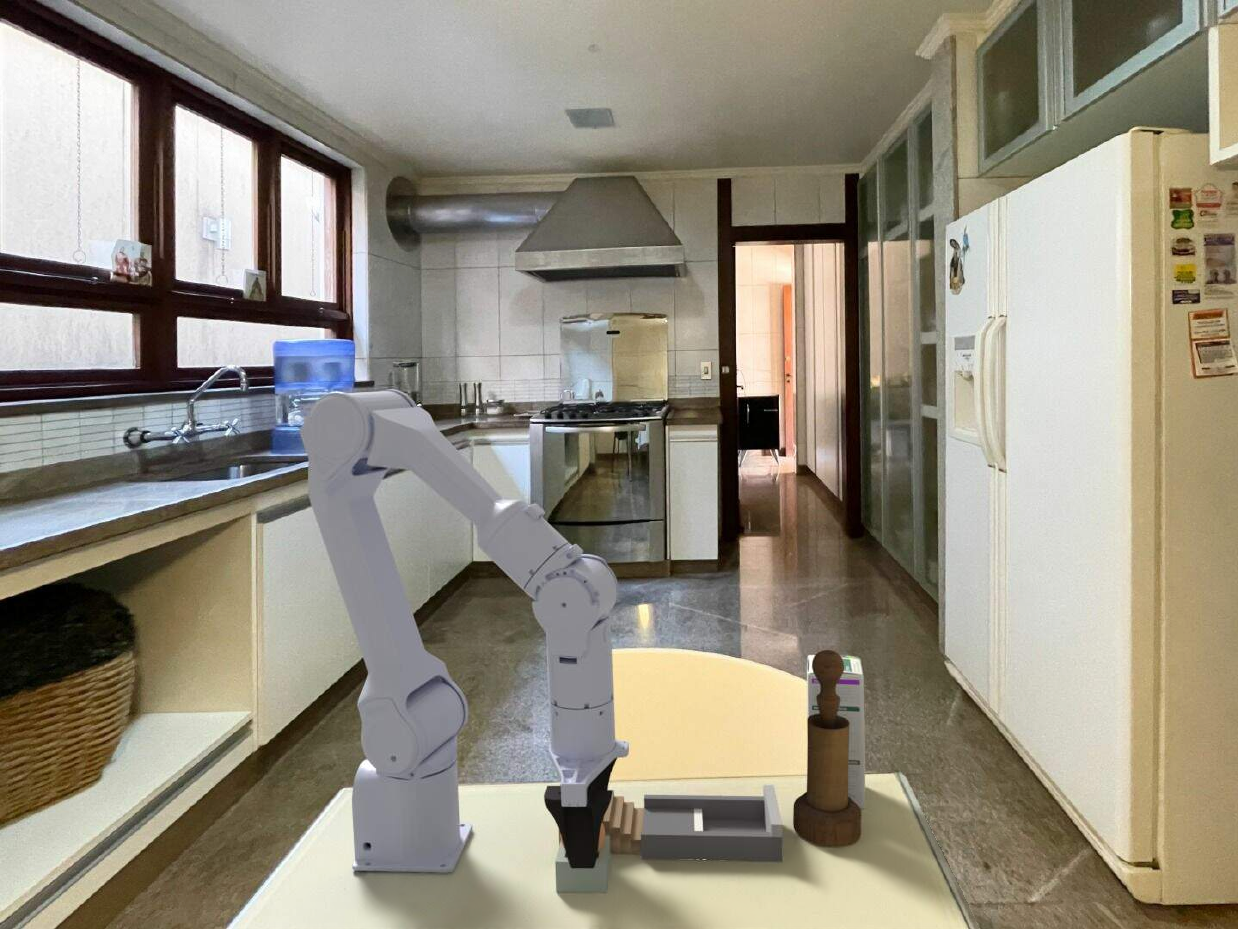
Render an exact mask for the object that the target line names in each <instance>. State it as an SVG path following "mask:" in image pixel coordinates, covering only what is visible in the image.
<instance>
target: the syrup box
mask: <svg viewBox="0 0 1238 929" xmlns="http://www.w3.org/2000/svg"><path fill="white" fill-rule="evenodd" d="M815 655H816V654H815ZM815 655H814V654H808V656H807V664H806V696H807V698H806V700H807V701H806V702H807V709H806V710H807V713H806V714H807V716H806V717H807V719H808V717H809V716H811V715H814V714H820V713H819V709H818V705H817V700H816V696H817V695H818V694H820V690H821V687H820V683H819V682H818V680H817V678H816V676H815V674H814V672H813V669H812V661H813V658H814V656H815ZM839 655H840V656H841V658H842V660H843V663H844V671H843V674H842V676H841V678H840V679H839V681H838V683H837V685H836V689H835V690H836V694H837V695H838V696H839V697H840V705H839V709H838V712H837V715H838V716H842V717H844V718H846V719H847V720H848V721H849V760H848V796H849V797H850V798H851V799H852V800H853V801H854V802H855V803H856V804H857V805H858V806H859V807H860V810H865V805H866V801H865V800H866V748H865V747H866V746H865V744H866V740H865V738H866V736H865V733H866V732H865V730H866V728H865V727H866V726H865V724H866V723H865V695H864V694H865V692H864V691H865V690H864V687H865V686H864V682H865V680H864V678H865V676H864V672H863V666H862V660H861V658H860V657H859V656H855V655H854V656H853V655H846V654H839Z"/></svg>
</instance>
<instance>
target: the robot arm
mask: <svg viewBox="0 0 1238 929" xmlns="http://www.w3.org/2000/svg"><path fill="white" fill-rule="evenodd" d="M299 435H300V437H301V440H302V443H303V446H304V449H305V452H306V455H307V459H308V465H307V467H308V470H307V476H308V477H307V478H308V479H307V493H308V498H309V502H310V505H311V508H312V511H313V513H314V516H315V519H316V522H317V525H318V530H319V531H320V534H321V537H322V540H323V543H324V546H325V549H326V551H327V555H328V559H329V560H330V563H331V567H332V569H333V573H334V575H335V576H334V577H335V579H336V581H337V584H338V587H339V590H340V593H341V596H342V599H343V602H344V604H345V608H346V611H347V614H348V617H349V619H350V622H351V625H352V628H353V631H354V635H355V637H356V640H357V643H358V646H359V649H360V652H361V654H362V658H363V661H364V663H365V664H364V665H365V667H366V670H367V676H366V680H365V683H364V684H363V687H362V690H361V693H360V695H359V697H358V700H357V704H356V705H357V709H358V712H359V714H360V715H359V716H360V720H361V732H360V733H361V734H360V743H361V747H362V750H363V754H364V756H365V757H366V759H364V760H363V761H362V762H360V764H359V767H358V769H357V771H356V773H355V777H354V779H353V780H354V781H353V785H352V793H351V794H352V795H351V809H352V810H351V811H352V825H353V826H352V829H353V846H354V848H353V849H354V861H353V863H352V865H351V866H352V870H354V871H357V872H358V871H363V872H364V871H366V872H369V871H370V872H416V873H417V872H418V873H451V872H454V870H455V869H456V866H457V865H458V864H457V863H458V862H459V859H460V858H461V855H462V853H463V851H464V848H465V846H466V845H467V842H468V840H469V838H470V836H471V833H472V830H473V824H472V823H469V822H461V821H460V820H461V818H460V801H459V800H460V798H459V796H460V795H459V778H458V777H459V776H458V752H457V751H458V750H457V748H458V735H459V734H460V733H461V732H462V731H463V729H464V728H465V726H466V724H467V722H468V719H469V705H468V701H467V699H466V697H465V694H464V693H463V690H461V688H460V687H459V686H458V684H456V683H455V682H454V680H453V679H452V677H451V676H450V674H449V672H448V671H449V670H448V668H447V666H446V663H445V661H443V660H442V659H440V658H438V657H436V656H435V655H433V654H431V653H429V652H428V651H426V649H425V646H424V643H423V640H422V637H421V634H420V632H419V628H418V626H417V622H416V620H415V617H414V613H413V610H412V608H411V605H410V602H409V599H408V596H407V593H406V590H405V587H404V584H403V582H402V578H401V576H400V573H399V570H398V569H399V568H398V567H397V564H396V561H395V558H394V555H393V552H392V549H391V547H390V543H389V539H388V536H387V534H386V532H385V531H386V530H385V528H384V525H383V522H382V519H381V516H380V514H379V510H378V508H377V505H376V504H377V503H376V502H375V498H374V496H375V493H376V491H377V490H378V488H379V487H380V484H381V482H382V481H383V479H384V477H385V476H386V473H387V472H388V471H390V469H399V470H407V471H410V472H412V473H413V474H414V475H416V476H417V477H418V478H419V479H421V481H422V482H424V484H426V485H427V487H430V488H431V489H432V490H433V491H434V492H436V494H438V495H439V496H440V497H441V498H443V499H444V500H445V501H446V502H447V503H448V504H450V505H451V506H452V507H453V508H454V509H455V510H457V511H458V512H459V513H460V514H461V515H462V516H464V517H465V518H466V519H467V520H468V521H470V522H471V523H472V524H473V525H474V526H475V528H476V542H477V546H478V548H479V549H480V550H481V551H482V552H483V553H484V554H485V555H486V556H487V557H488V558H489V559H490V560H491V562H493V563H494V564H496V565H497V567H499V569H501V570H502V571H503V572H504V573H505V574H506V575H507V576H508V577H509V578H510V579H511V580H512V581H513V582H514V583H515V584H516V585H517V586H518V587H519V588H521V590H522V591H524V593H525V594H526V595H528V596H529V597H530V598H532V599H533V601H532V602H531V608H532V612H533V615H534V617H535V620H536V621H537V623H538V625H539V626H540V627H541V628H542V629H543V632H544V633H545V635H546V636H545V639H546V642H545V643H546V666H547V668H546V670H547V671H546V672H547V687H548V688H547V689H548V691H547V692H548V713H549V715H548V716H549V733H550V734H549V735H550V738H549V739H550V744H549V745H548V758H549V760H550V762H551V763H552V767H553V768H554V771H555V773H556V775H557V777H558V779H559V781H560V784H561V786H560V785H547V786H546V788H545V791H544V795H543V799H544V805H545V809H546V810H547V811H548V812H549V814H551V816H552V818H553V819H554V822H555V823H556V825H557V828H558V831H559V830H560V833H561V836H562V840H563V844H564V847H565V851H566V855H567V858H568V861H569V864H570V867H571V868H591V869H593V868H594V867H595V863H596V859H597V853H598V846H599V837H600V829H601V824H602V823H603V819H604V815H605V813H606V811H607V809H608V807H609V804H610V802H611V798H612V792H613V789H609V783H610V779H611V775H612V772H613V769H614V766H615V764H616V763H617V760H618V759H619V758H626V757H628V756H629V753H630V742H629V741H628V740H621V739H620V740H618V739H616V726H615V725H616V724H615V722H616V720H615V693H614V692H615V690H614V669H613V668H614V664H613V645H612V633H611V632H612V631H611V628H612V627H611V616H610V615H607V614H609V613H610V612H611V610H612V609H613V607H614V606H615V604H616V603H617V600H618V596H619V583H618V579H617V576H616V574H615V573H614V571H613V570H612V568H611V567H610V566H609V564H608V563H607V561H606V560H605V559H604V558H602V557H601V556H597V555H594V554H587V553H584V550H583V549H582V548H581V547H580V546H579V545H578V544H577V543H574V544H573V545H572V544H571V543H570V542H569V541H568V539H566V538H565V537H564V536H563V535H561V533H560V532H559V531H558V530H556V529H555V528H554V527H553V526H552V525H551V524H550V523H549V522H547V520H546V519H545V518H544V516H545V515H546V511H545V510H544V509H543V507H541V506H539V504H538V503H532V504H530V505H529V504H528V503H527V501H525V500H524V499H505V498H503V496H501V495H500V494H499V493H498V491H497V490H496V489H495V488H494V487H493V486H492V485H491V484H490V483H489V482H488V481H487V479H485V478H484V477H483V476H482V474H480V472H479V471H478V470H477V469H476V467H474V466H473V465H472V464H471V463H470V462H469V460H468V459H466V458H465V457H464V456H463V454H462V453H461V452H460V451H458V449H457V448H456V447H455V446H454V445H453V443H451V441H449V440H448V438H446V436H445V435H444V434H443V433H442V432H441V431H440V430H439V429H438V427H437V426H436V424H435V422H434V420H433V418H432V416H431V414H430V413H429V412H428V411H426V410H425V409H424V408H423V407H421V406H417V404H416V402H415V401H414V400H413V399H412V397H411V396H409V395H408V394H406V393H405V392H403V391H401V390H398V389H394V388H393V389H390V388H389V389H384V390H380V391H367V392H366V391H365V392H363V391H362V392H343V391H342V392H340V391H333V392H328V393H325V394H324V395H322V396H321V397H319V398H318V399H317V400H316V401H315V402H314V403H313V405H312V406H311V408H310V410H309V412H308V413H307V415H306V417H305V419H304V421H303V424H302V425H301V427H300V429H299ZM583 553H584V554H583ZM606 615H607V616H606Z"/></svg>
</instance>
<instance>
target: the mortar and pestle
mask: <svg viewBox="0 0 1238 929" xmlns="http://www.w3.org/2000/svg"><path fill="white" fill-rule="evenodd" d="M840 655H841V654H839V653H837V651H835V650H831V649H825V650H820V651H818V652H817V653H816V654H815V656H814V658H813V661H812V669H813V672H814V674H815V676H816V678H817V680H818V682H819V683H820V687H821V690H820V694H818V695H817V696H816V700H817V705H818V709H819V713H820V714H814V715H811V716H809V717H808V719H807V720H806V721H807V722H806V724H807V726H806V727H807V728H806V729H807V730H806V731H807V732H806V733H807V751H806V754H807V759H806V760H807V761H806V763H807V765H806V768H807V770H806V775H807V776H806V792H804V793H803V794H802V795H800V796H798V797H797V798H796V799H795V800H794V803H793V808H792V810H793V812H792V813H793V815H792V818H793V819H792V825H793V829H794V831H795V833H797V835H799V836H800V837H801V838H802V839H804V840H805V841H806V842H809V843H812V844H815V845H818V846H823V847H828V848H839V847H840V848H841V847H847V846H851V845H853V844H855V843H858V841H859V840H860V838H861V836H862V809H860V807H859V806H858V805H857V804H856V803H855V802H854V801H853V800H852V799H851V798H850V797H849V796H848V760H849V721H848V720H847V719H846V718H844V717H842V716H838V715H837V712H838V709H839V705H840V697H839V696H838V695H837V694H836V690H835V689H836V685H837V683H838V681H839V679H840V678H841V676H842V674H843V671H844V663H843V660H842V658H841V656H840Z"/></svg>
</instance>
